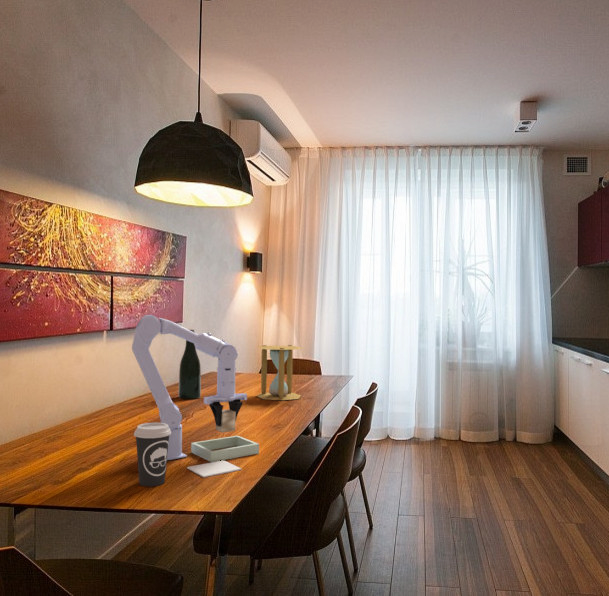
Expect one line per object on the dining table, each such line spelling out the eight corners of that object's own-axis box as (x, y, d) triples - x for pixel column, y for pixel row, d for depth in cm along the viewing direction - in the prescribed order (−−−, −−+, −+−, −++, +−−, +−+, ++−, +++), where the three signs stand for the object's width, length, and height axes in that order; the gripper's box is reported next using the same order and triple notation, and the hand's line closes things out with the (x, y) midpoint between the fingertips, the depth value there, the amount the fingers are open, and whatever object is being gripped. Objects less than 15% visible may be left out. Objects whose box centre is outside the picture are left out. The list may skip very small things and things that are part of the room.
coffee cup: (173, 476, 155) (174, 422, 155) (166, 488, 146) (167, 430, 146) (138, 476, 155) (139, 421, 155) (128, 488, 145) (129, 429, 145)
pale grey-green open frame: (210, 462, 169) (211, 452, 169) (191, 452, 180) (191, 442, 180) (258, 453, 180) (259, 443, 180) (237, 444, 190) (237, 435, 190)
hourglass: (254, 393, 291) (254, 344, 291) (297, 392, 295) (298, 344, 295) (258, 401, 268) (259, 348, 268) (305, 400, 272) (306, 348, 272)
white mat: (203, 477, 155) (203, 476, 155) (187, 468, 163) (187, 467, 163) (241, 469, 162) (241, 468, 162) (223, 461, 170) (223, 460, 170)
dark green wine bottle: (177, 396, 278) (178, 328, 278) (199, 395, 282) (200, 328, 281) (179, 400, 268) (180, 330, 268) (201, 399, 271) (203, 330, 271)
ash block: (222, 432, 177) (223, 413, 177) (215, 429, 180) (215, 410, 180) (235, 430, 179) (235, 411, 179) (228, 427, 183) (228, 409, 183)
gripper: (211, 385, 172) (211, 430, 172) (252, 381, 181) (251, 424, 181) (200, 382, 178) (200, 425, 178) (240, 378, 187) (240, 420, 187)
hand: (225, 424), depth 180 cm, fingers closed on ash block, 4 cm apart
